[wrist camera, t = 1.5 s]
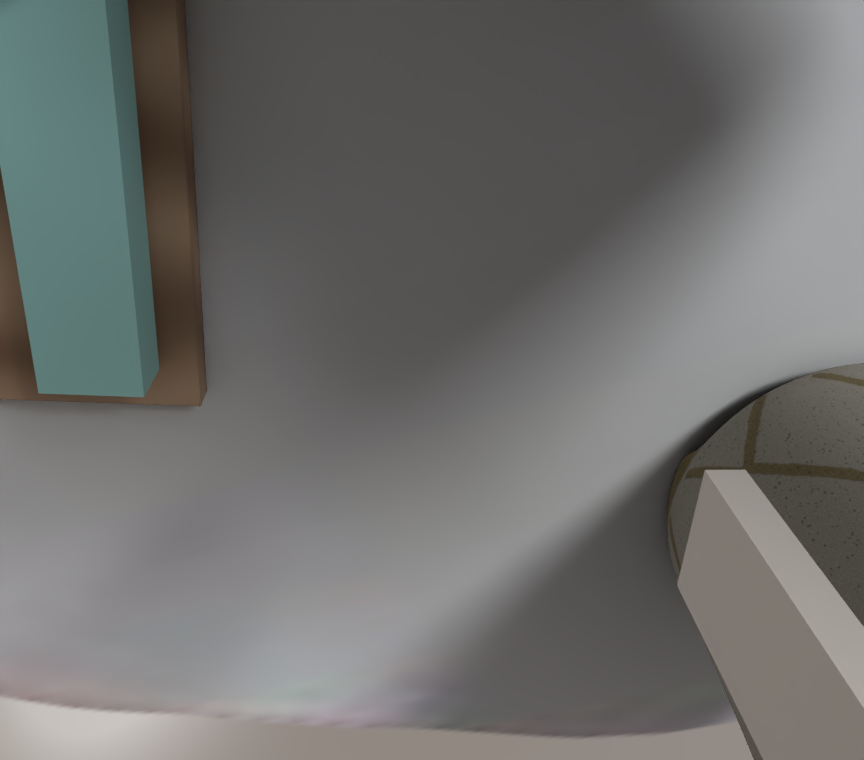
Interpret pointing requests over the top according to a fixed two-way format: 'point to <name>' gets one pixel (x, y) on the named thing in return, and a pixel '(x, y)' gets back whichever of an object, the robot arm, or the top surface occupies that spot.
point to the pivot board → (166, 225)
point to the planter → (793, 476)
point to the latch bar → (77, 195)
